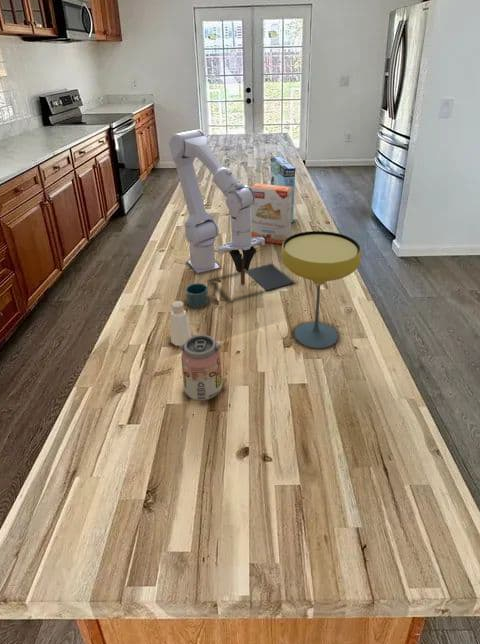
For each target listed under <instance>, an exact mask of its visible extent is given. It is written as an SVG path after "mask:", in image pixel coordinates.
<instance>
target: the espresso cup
mask: <svg viewBox="0 0 480 644" xmlns="http://www.w3.org/2000/svg"><path fill="white" fill-rule="evenodd" d="M185 300H186V304H187V305H188V306H189V307H193V308H200V307H203V306H205V305H207V304H208V303H209V289H208V286H207V285H206V284H204V283H192V284H189V285H187V286H186V287H185Z"/></svg>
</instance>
